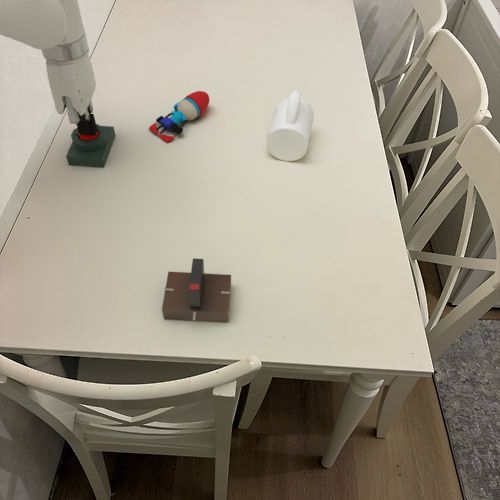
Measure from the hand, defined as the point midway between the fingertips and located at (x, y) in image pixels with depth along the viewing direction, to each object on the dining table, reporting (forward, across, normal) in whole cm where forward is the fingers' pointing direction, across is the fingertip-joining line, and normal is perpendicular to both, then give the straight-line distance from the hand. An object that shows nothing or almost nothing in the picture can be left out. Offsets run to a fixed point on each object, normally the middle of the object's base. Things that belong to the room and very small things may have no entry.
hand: (88, 132), depth 95 cm
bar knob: (+1, +34, +26) cm, 43 cm away
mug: (+5, -5, +40) cm, 40 cm away
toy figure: (+4, -11, +17) cm, 20 cm away
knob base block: (+4, +34, +26) cm, 43 cm away
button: (+2, 0, 0) cm, 2 cm away
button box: (+4, 0, 0) cm, 4 cm away
